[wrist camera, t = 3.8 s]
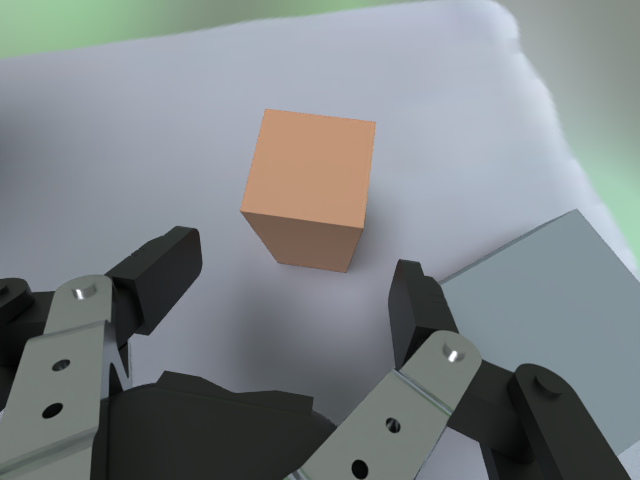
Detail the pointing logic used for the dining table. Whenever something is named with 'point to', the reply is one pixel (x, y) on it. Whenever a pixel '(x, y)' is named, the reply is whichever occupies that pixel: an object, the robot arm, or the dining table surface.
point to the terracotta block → (309, 187)
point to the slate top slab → (559, 317)
